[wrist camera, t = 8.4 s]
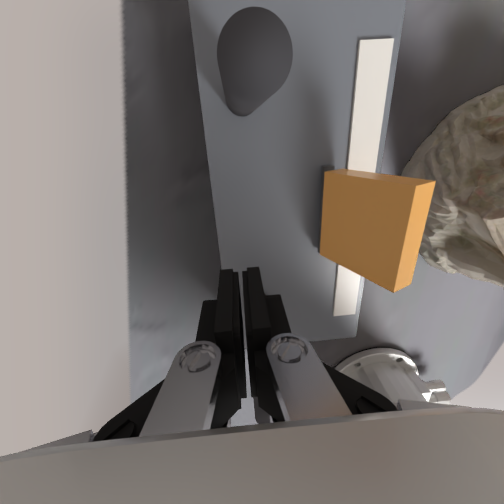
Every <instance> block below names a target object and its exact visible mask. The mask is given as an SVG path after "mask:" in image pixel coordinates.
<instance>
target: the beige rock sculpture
mask: <svg viewBox="0 0 504 504" xmlns="http://www.w3.org/2000/svg"><path fill="white" fill-rule="evenodd" d="M401 176H403V177H410V178H418V179H425V180H433V181H436V182H435V187H434V191H433V195H432V199H431V203H430V207H429V211H428V215H427V220H426V224H425V228H424V232H423V236H422V240H421V244H420V248H419V252H420V253H421V255H422V256H423V258H424V259H425V260H426V262H427V263H428V264H429V265H430V266H432V267H435V268H437V269H440V270H442V271H445V272H449V273H452V274H454V273H456V272H457V273H461V274H463V275H465V276H467V277H470V278H472V279H476V280H481V281H487V282H491V283H494V284H496V285H498V286H501V287H503V288H504V85H501V86H499V87H496V88H494V89H492V90H491V91H489V92H487V93H483V94H482V95H480V96H476V97H475V98H472V99H470V100H468V101H467V102H465V103H464V104H463V105H460V106H458V108H455V109H454V110H452V111H451V112H450V113H449V114H448V115H447V116H446V117H445V119H444V120H442V121H441V122H440V124H438V125H437V128H436V129H435V130H434V131H433V132H432V134H431V135H430V136H428V137H427V138H426V139H425V141H424V142H423V143H422V144H421V145H420V146H419V147H418V149H417V150H416V152H415V153H414V154H413V157H411V160H410V161H409V162H407V164H406V166H405V167H404V169H403V172H402V174H401Z"/></svg>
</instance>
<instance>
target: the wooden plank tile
mask: <svg viewBox="0 0 504 504" xmlns="http://www.w3.org/2000/svg"><path fill="white" fill-rule="evenodd" d="M334 168H335V166H333V165H325V166H322V181H321V199H320V217H319V235H318V253H320V255H322V256H324V257H326V258H327V259H329V260H331V261H333V262H335V263H337V264H339V265H341V266H343V267H345V268H347V269H349V270H351V271H352V272H354V273H356V274H358V275H360V276H362V277H364V278H366V279H368V280H370V281H372V282H374V283H376V284H377V285H379V286H381V287H383V288H385V289H387V290H389V291H391V292H393V293H394V292H396V291H398V290H400V289H402V288H404V287H406V286H408V285H410V284H411V281H412V277H413V273H414V269H415V265H416V261H417V257H418V253H419V248H420V244H421V240H422V236H423V232H424V228H425V224H426V220H427V215H428V211H429V207H430V203H431V199H432V195H433V191H434V187H435V182H436V181H433V180H425V179H418V178H410V177H403V176H395V175H388V174H380V173H373V172H365V171H357V170H350V169H337V170H334Z"/></svg>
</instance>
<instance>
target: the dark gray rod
mask: <svg viewBox="0 0 504 504" xmlns="http://www.w3.org/2000/svg"><path fill="white" fill-rule="evenodd" d="M292 60H293V47H292V41H291V37H290V35H289V32H288V30H287V28H286V26H285V24H284V23H283V21H282V20H281V19H280V18H279V17H278V16H277V15H276V14H275V13H273V12H272V11H270V10H268V9H265V8H262V7H255V6H253V7H247V8H243V9H241V10H239V11H237V12H236V13H235V14H233V15H232V16H231V17H230V18H229V19H228V20H227V22H226V23H225V25H224V26H223V28H222V30H221V33H220V36H219V39H218V44H217V61H218V67H219V71H220V76H221V81H222V86H223V90H224V95H225V100H226V104H227V106H228V108H229V110H230V111H231V112H232V113H233V114H235V115H237V116H247V115H250V114H251V113H252V112H253V111H255V110H256V109H257V108H258V107H259V106H260V105H262V104H263V103H264V102H265V101H266V100H267V99H269V98H270V97H271V96H272V95H273V94H274V93H276V92H277V91H278V90H279V89H280V88H281V87H282V85H283V84H284V83H285V81H286V79H287V77H288V75H289V73H290V70H291V66H292Z"/></svg>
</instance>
